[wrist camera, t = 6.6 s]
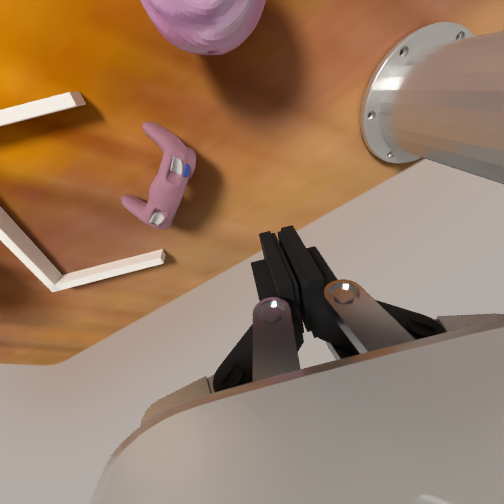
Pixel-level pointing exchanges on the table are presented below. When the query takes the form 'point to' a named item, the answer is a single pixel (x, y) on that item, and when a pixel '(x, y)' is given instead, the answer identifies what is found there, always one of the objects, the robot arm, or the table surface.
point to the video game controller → (164, 179)
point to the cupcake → (205, 23)
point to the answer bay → (20, 243)
